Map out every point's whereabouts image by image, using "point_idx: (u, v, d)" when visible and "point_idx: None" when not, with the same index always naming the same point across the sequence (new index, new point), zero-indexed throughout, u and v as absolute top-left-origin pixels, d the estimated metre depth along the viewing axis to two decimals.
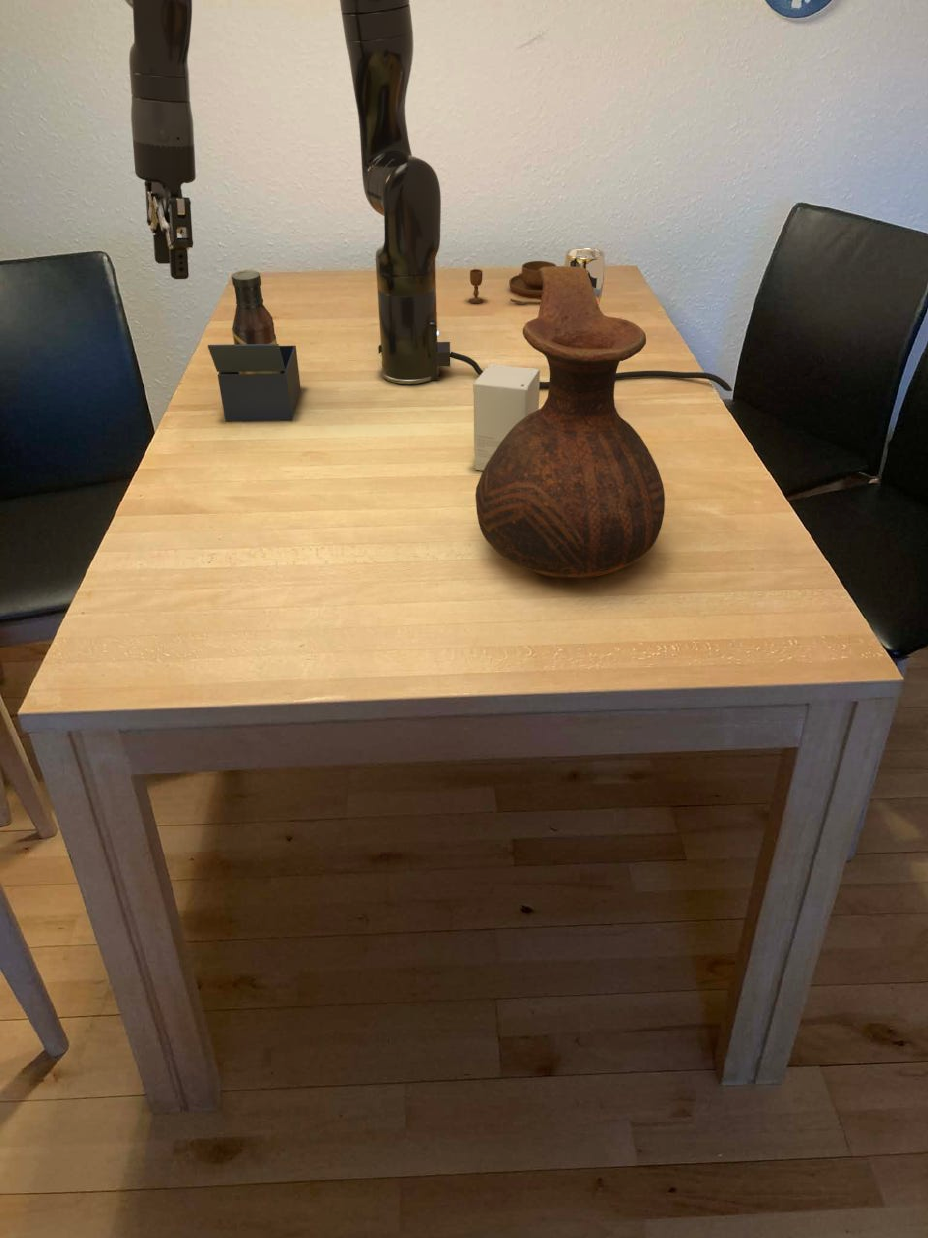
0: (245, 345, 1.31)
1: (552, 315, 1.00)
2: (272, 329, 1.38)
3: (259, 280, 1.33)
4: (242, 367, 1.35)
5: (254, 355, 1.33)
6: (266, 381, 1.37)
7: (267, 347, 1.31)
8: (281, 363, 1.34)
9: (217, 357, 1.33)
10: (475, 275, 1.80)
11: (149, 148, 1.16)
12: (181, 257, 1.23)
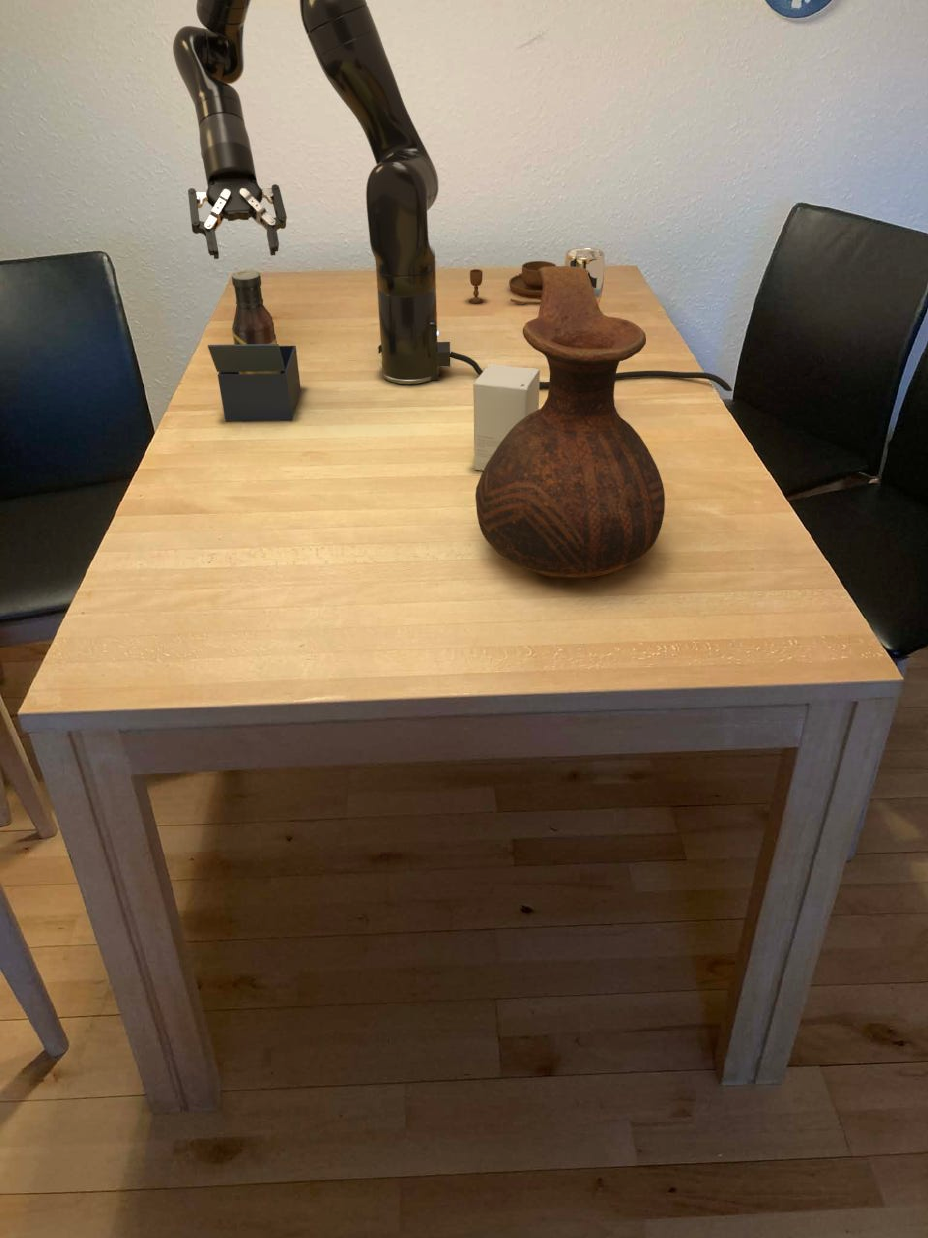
0: (245, 345, 1.31)
1: (552, 315, 1.00)
2: (272, 329, 1.38)
3: (259, 280, 1.33)
4: (242, 367, 1.35)
5: (254, 355, 1.33)
6: (266, 381, 1.37)
7: (267, 347, 1.31)
8: (281, 363, 1.34)
9: (217, 357, 1.33)
10: (475, 275, 1.80)
11: None
12: None
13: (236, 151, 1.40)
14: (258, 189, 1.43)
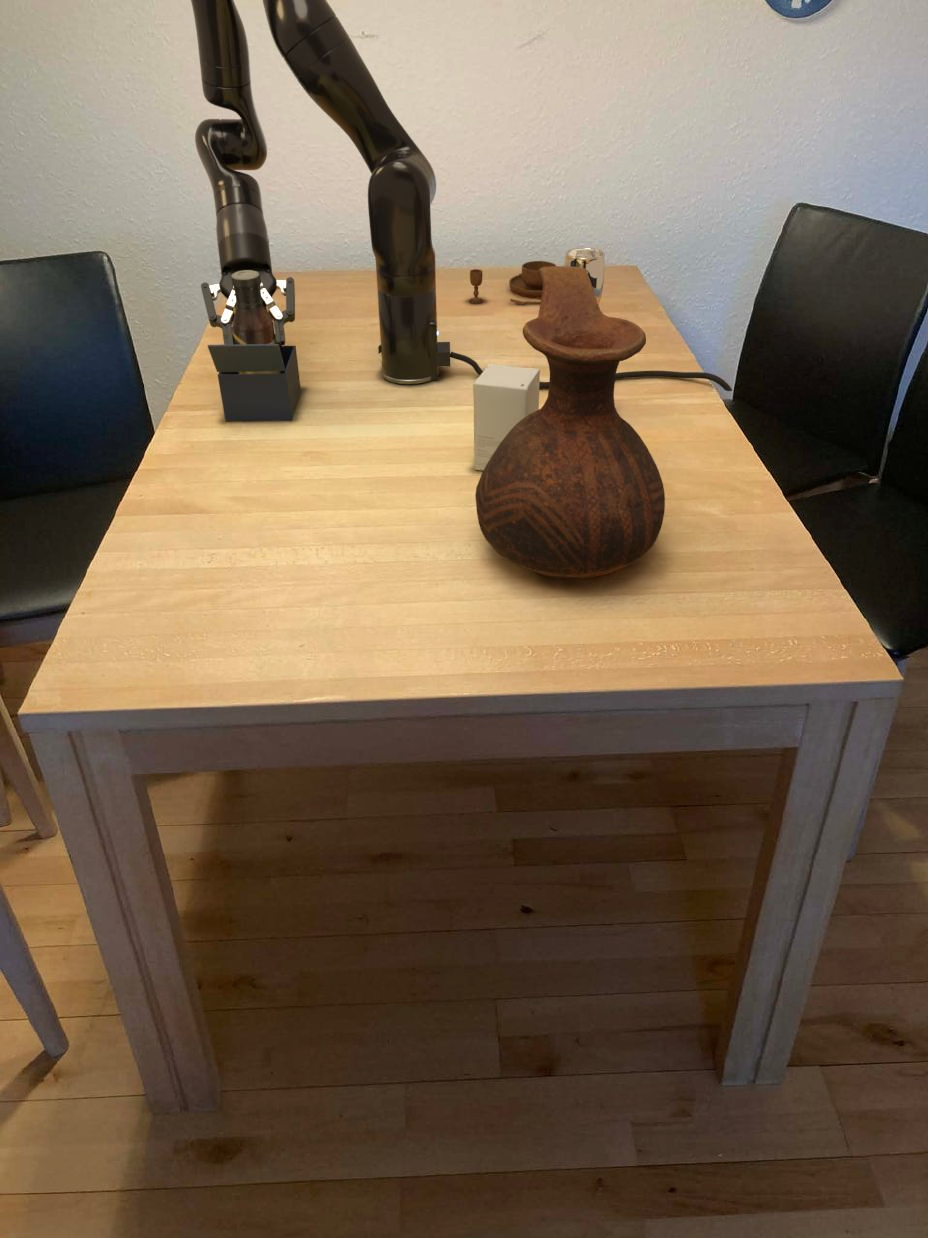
0: (245, 345, 1.31)
1: (552, 315, 1.00)
2: (272, 329, 1.38)
3: (259, 280, 1.33)
4: (242, 367, 1.35)
5: (254, 355, 1.33)
6: (266, 381, 1.37)
7: (267, 347, 1.31)
8: (281, 363, 1.34)
9: (217, 357, 1.33)
10: (475, 275, 1.80)
11: None
12: None
13: (250, 242, 1.37)
14: (272, 279, 1.39)
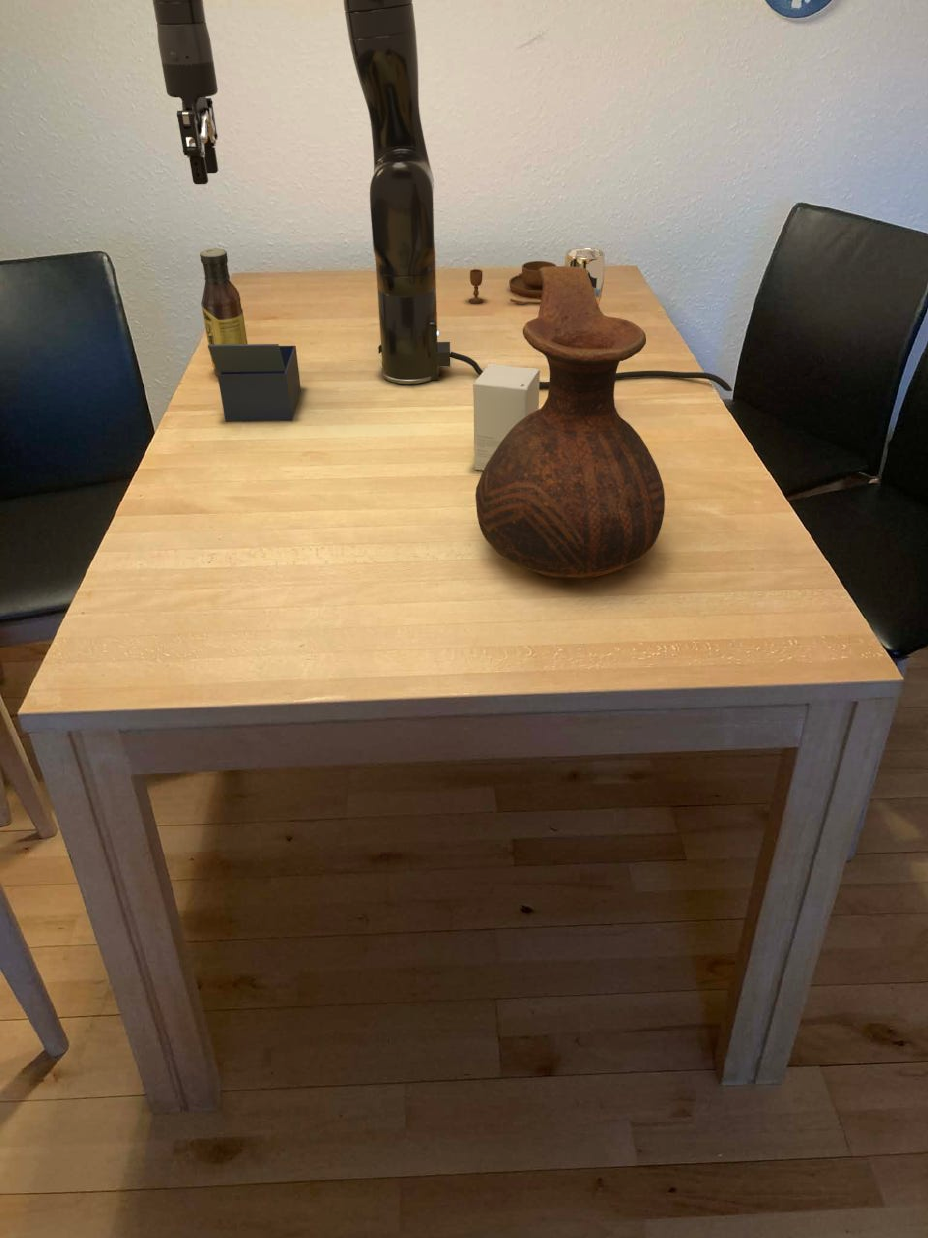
0: (245, 345, 1.31)
1: (552, 315, 1.00)
2: (239, 304, 1.48)
3: (225, 257, 1.43)
4: (242, 367, 1.35)
5: (254, 355, 1.33)
6: (266, 381, 1.37)
7: (267, 347, 1.31)
8: (281, 363, 1.34)
9: (217, 357, 1.33)
10: (475, 275, 1.80)
11: (167, 67, 1.37)
12: (197, 164, 1.43)
13: None
14: (207, 104, 1.45)
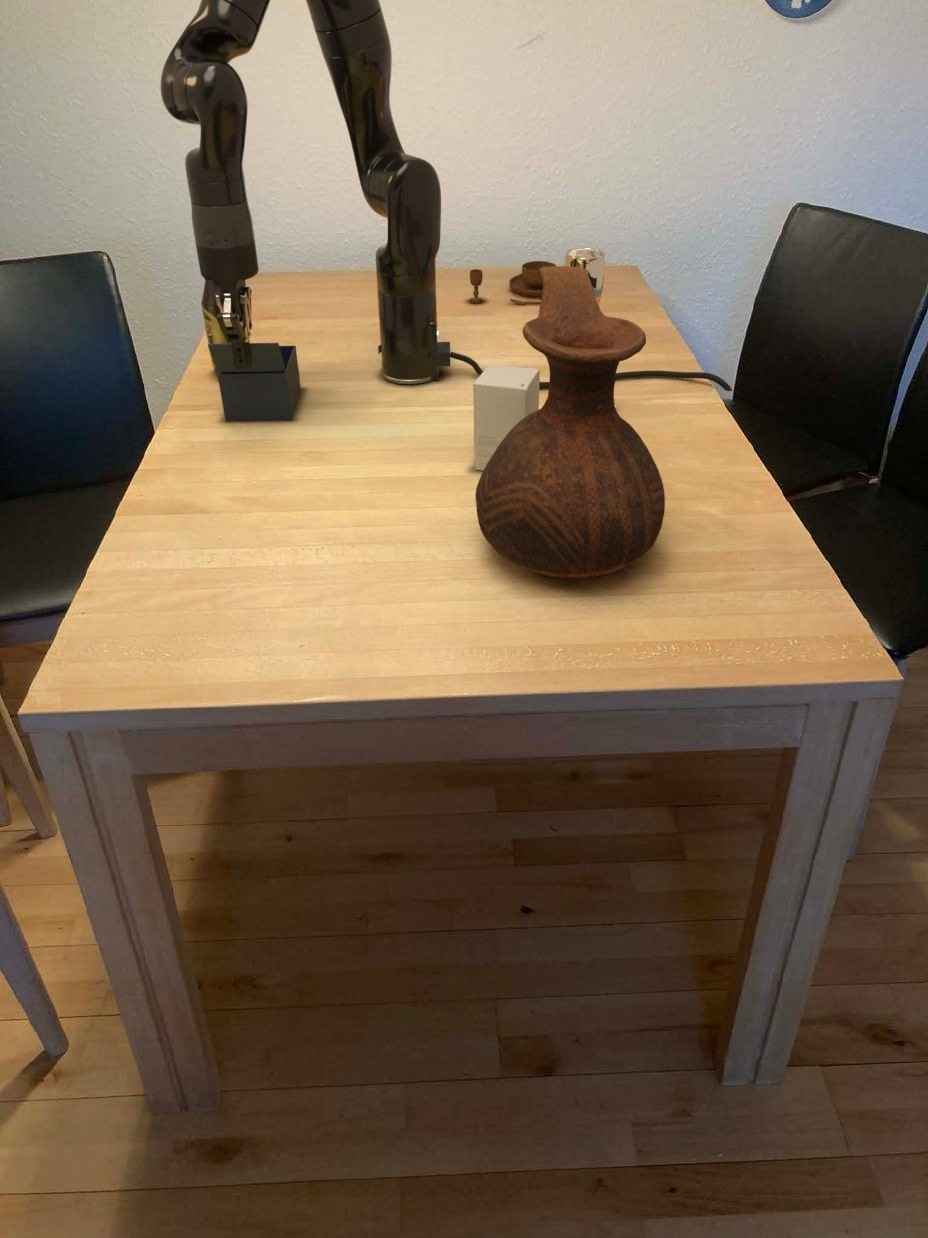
0: None
1: (552, 315, 1.00)
2: None
3: None
4: None
5: (254, 354, 1.33)
6: (266, 381, 1.37)
7: (267, 346, 1.31)
8: (281, 363, 1.35)
9: (217, 357, 1.33)
10: (475, 275, 1.80)
11: (202, 250, 1.19)
12: (240, 350, 1.28)
13: None
14: None
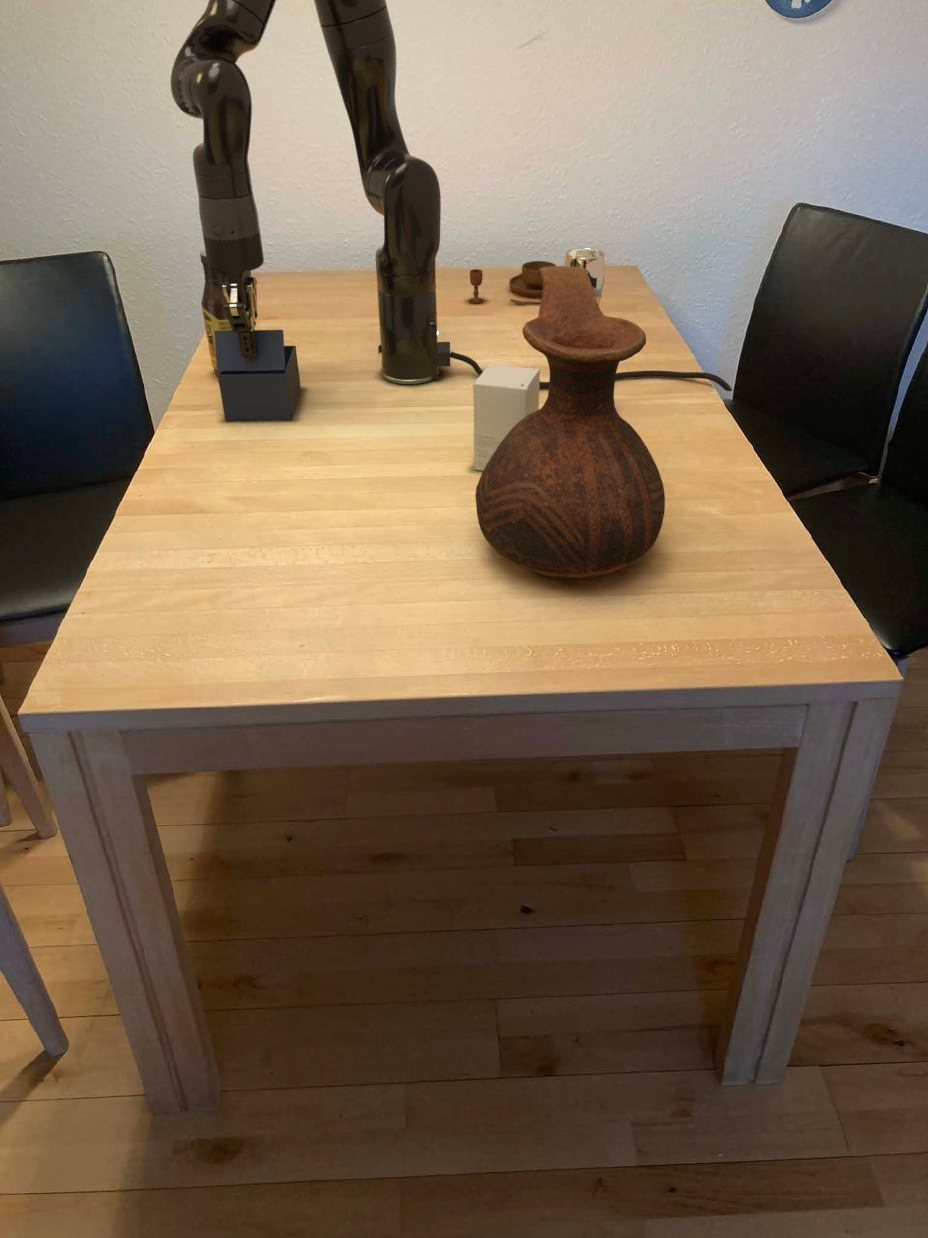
0: None
1: (552, 315, 1.00)
2: None
3: None
4: (243, 364, 1.36)
5: (257, 345, 1.35)
6: (266, 381, 1.37)
7: (272, 333, 1.35)
8: (282, 357, 1.36)
9: (221, 348, 1.35)
10: (475, 275, 1.80)
11: (209, 242, 1.23)
12: (246, 338, 1.32)
13: None
14: (250, 271, 1.31)
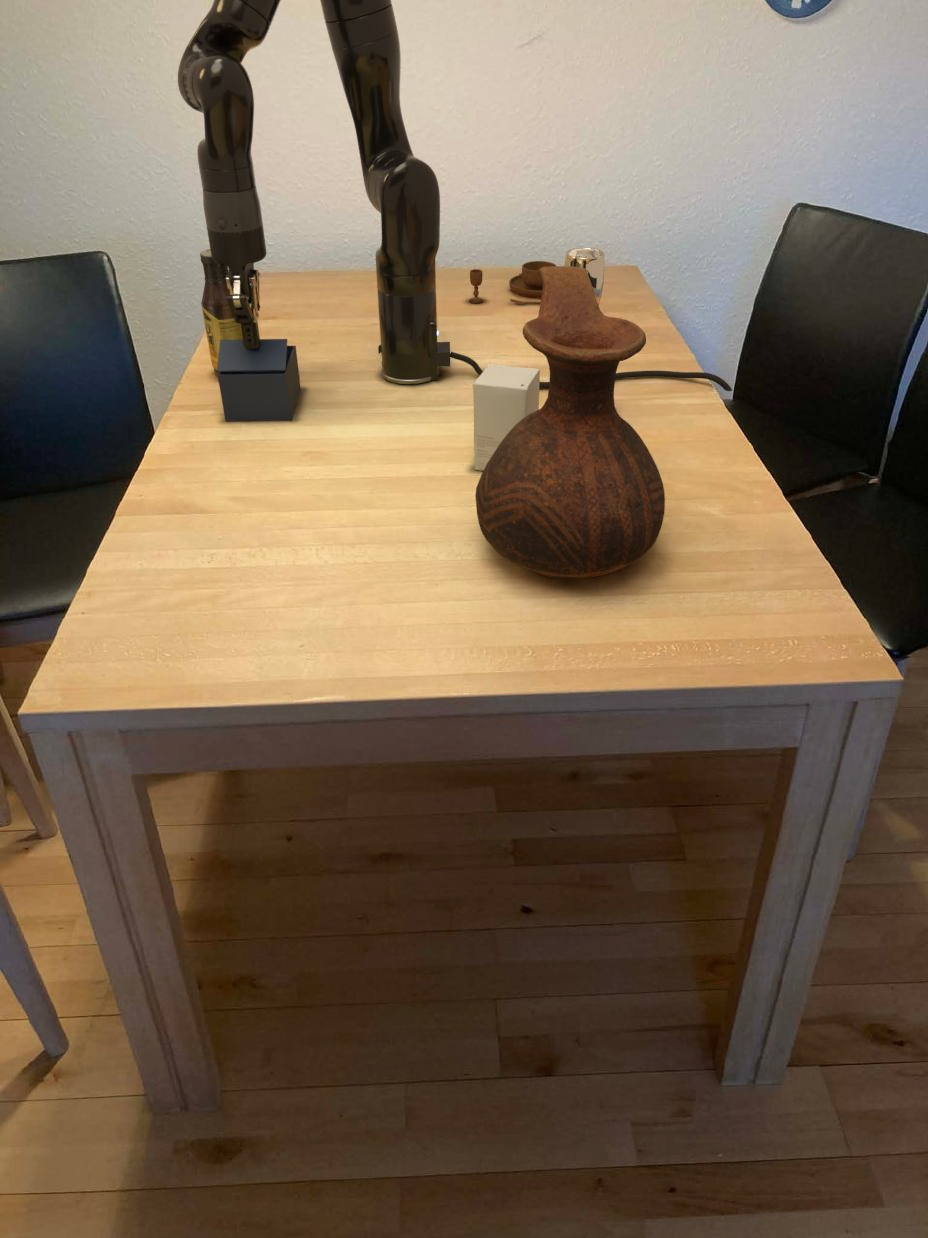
0: None
1: (552, 315, 1.00)
2: None
3: None
4: (244, 365, 1.36)
5: (260, 350, 1.37)
6: (266, 381, 1.37)
7: (276, 341, 1.38)
8: (284, 359, 1.37)
9: (224, 352, 1.37)
10: (475, 275, 1.80)
11: (213, 234, 1.25)
12: (249, 330, 1.35)
13: None
14: (253, 264, 1.34)
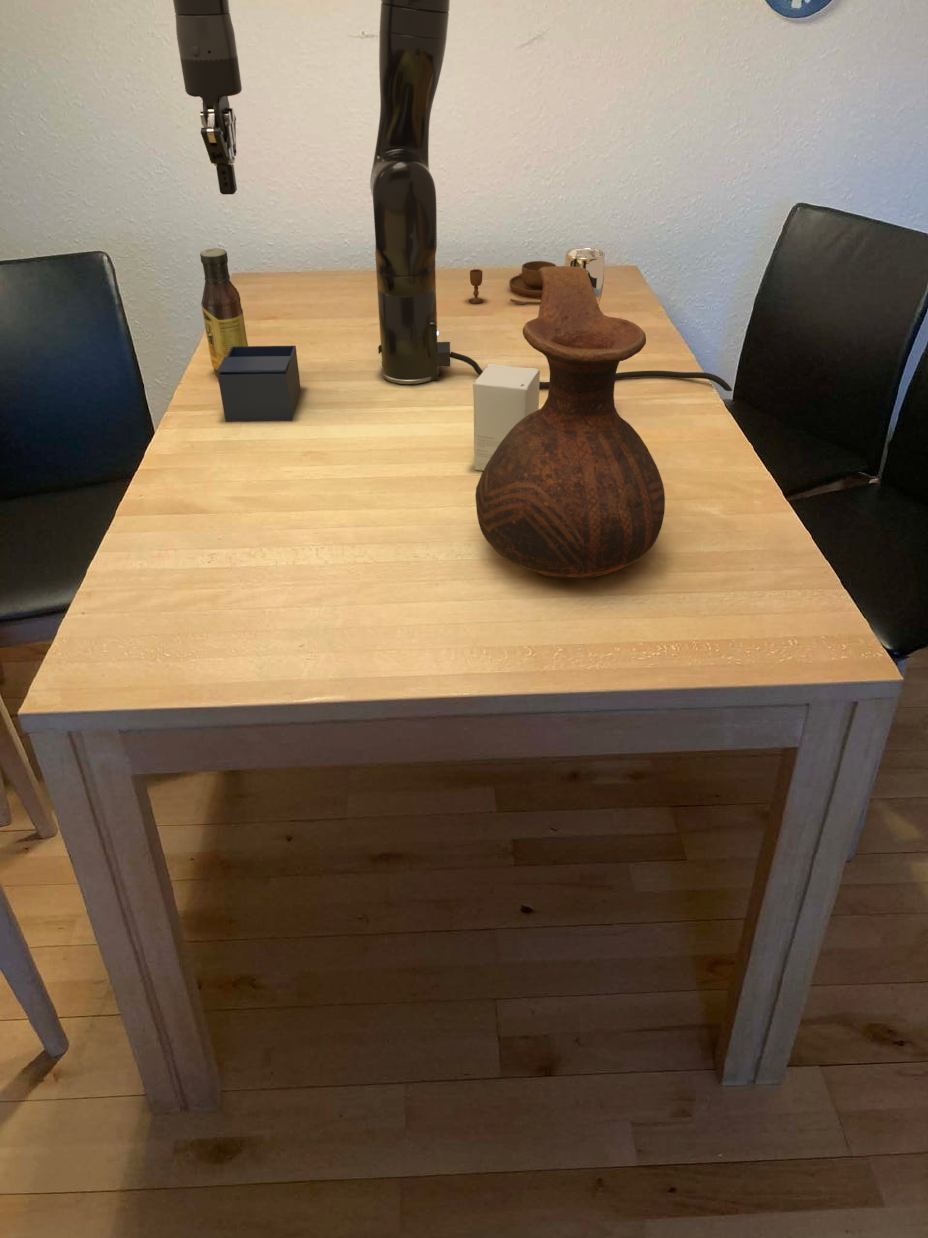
0: None
1: (552, 315, 1.00)
2: (239, 304, 1.48)
3: (226, 257, 1.43)
4: (244, 367, 1.37)
5: (262, 361, 1.39)
6: (266, 381, 1.37)
7: (279, 357, 1.40)
8: (285, 365, 1.38)
9: (226, 362, 1.39)
10: (475, 275, 1.80)
11: (186, 63, 1.23)
12: (225, 173, 1.32)
13: None
14: (229, 105, 1.31)
